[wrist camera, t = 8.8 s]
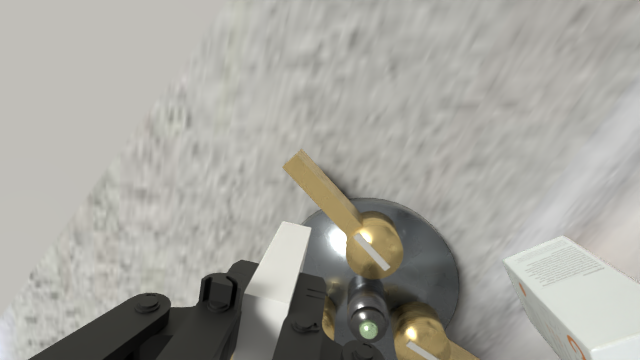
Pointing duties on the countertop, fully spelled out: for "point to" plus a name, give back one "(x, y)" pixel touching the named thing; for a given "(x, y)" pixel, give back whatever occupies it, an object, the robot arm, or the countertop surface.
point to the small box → (578, 301)
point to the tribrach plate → (387, 293)
